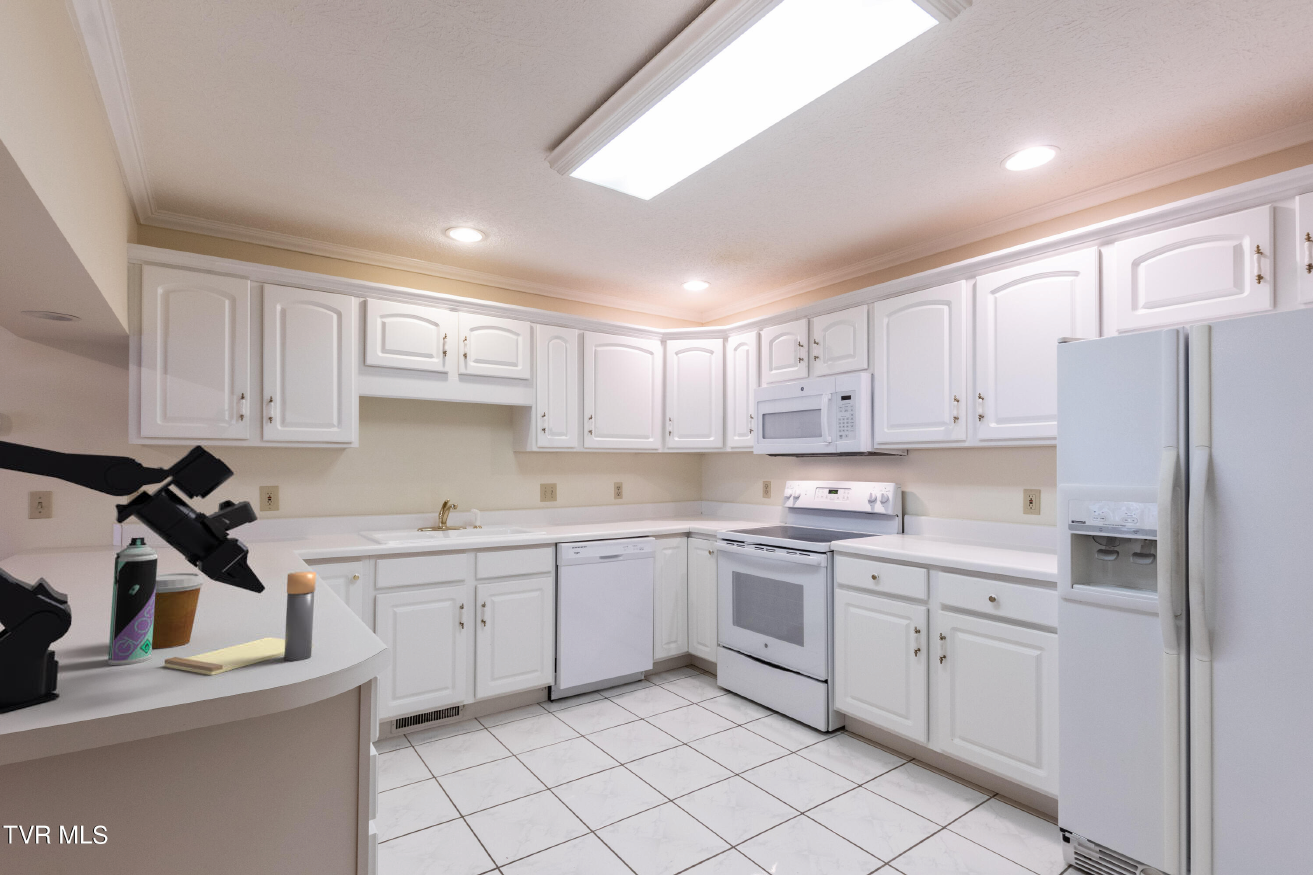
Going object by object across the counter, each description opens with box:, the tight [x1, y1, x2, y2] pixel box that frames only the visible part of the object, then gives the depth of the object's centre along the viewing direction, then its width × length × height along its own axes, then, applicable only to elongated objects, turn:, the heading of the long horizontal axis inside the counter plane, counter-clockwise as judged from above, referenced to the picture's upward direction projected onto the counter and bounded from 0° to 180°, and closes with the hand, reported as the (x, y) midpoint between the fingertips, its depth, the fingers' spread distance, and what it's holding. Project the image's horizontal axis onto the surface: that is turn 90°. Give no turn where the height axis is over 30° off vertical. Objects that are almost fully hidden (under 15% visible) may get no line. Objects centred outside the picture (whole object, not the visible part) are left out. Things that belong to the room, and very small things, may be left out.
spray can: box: [107, 537, 159, 666], centre depth 105 cm, size 6×6×20 cm
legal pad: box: [164, 636, 314, 676], centre depth 108 cm, size 18×11×1 cm, turn 159°
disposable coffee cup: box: [152, 572, 205, 649], centre depth 115 cm, size 10×10×12 cm
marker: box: [283, 571, 317, 662], centre depth 108 cm, size 4×4×14 cm
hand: (256, 586), depth 103 cm, fingers open, 9 cm apart
